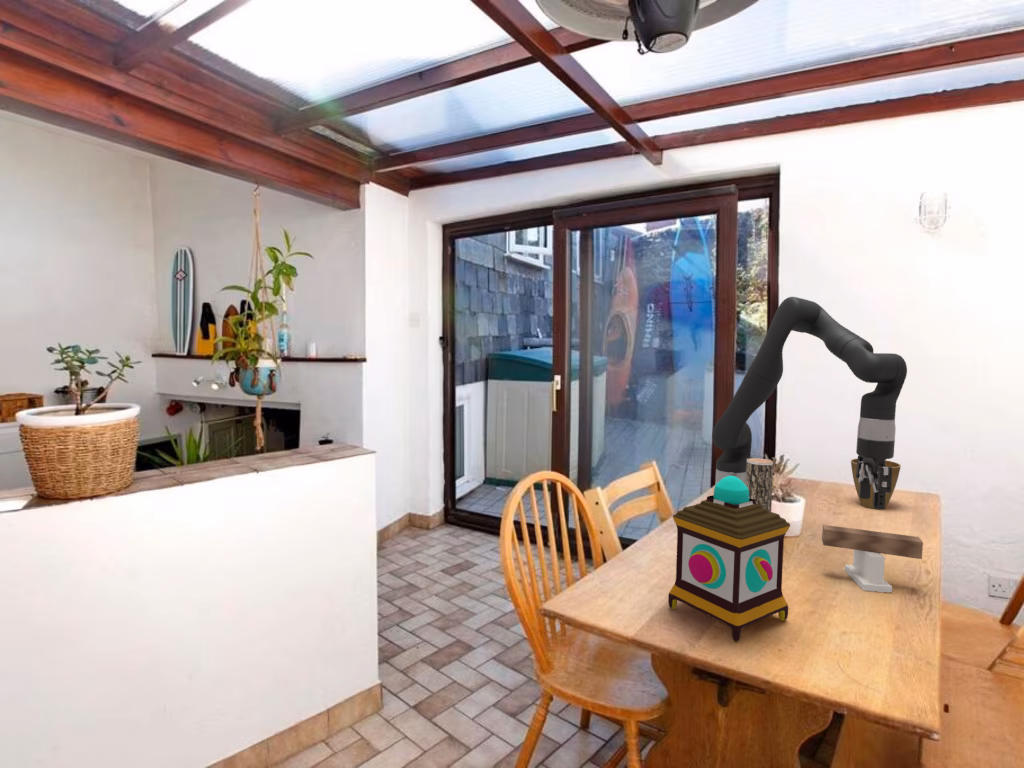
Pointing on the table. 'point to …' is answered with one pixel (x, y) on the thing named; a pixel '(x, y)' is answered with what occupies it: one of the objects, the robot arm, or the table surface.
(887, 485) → the robot arm
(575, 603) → the table surface
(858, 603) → the table surface
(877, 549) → the walnut bar
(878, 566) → the white pedestal block
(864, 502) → the plant pot
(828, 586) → the table surface
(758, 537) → the decorative lantern
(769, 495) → the log stump
